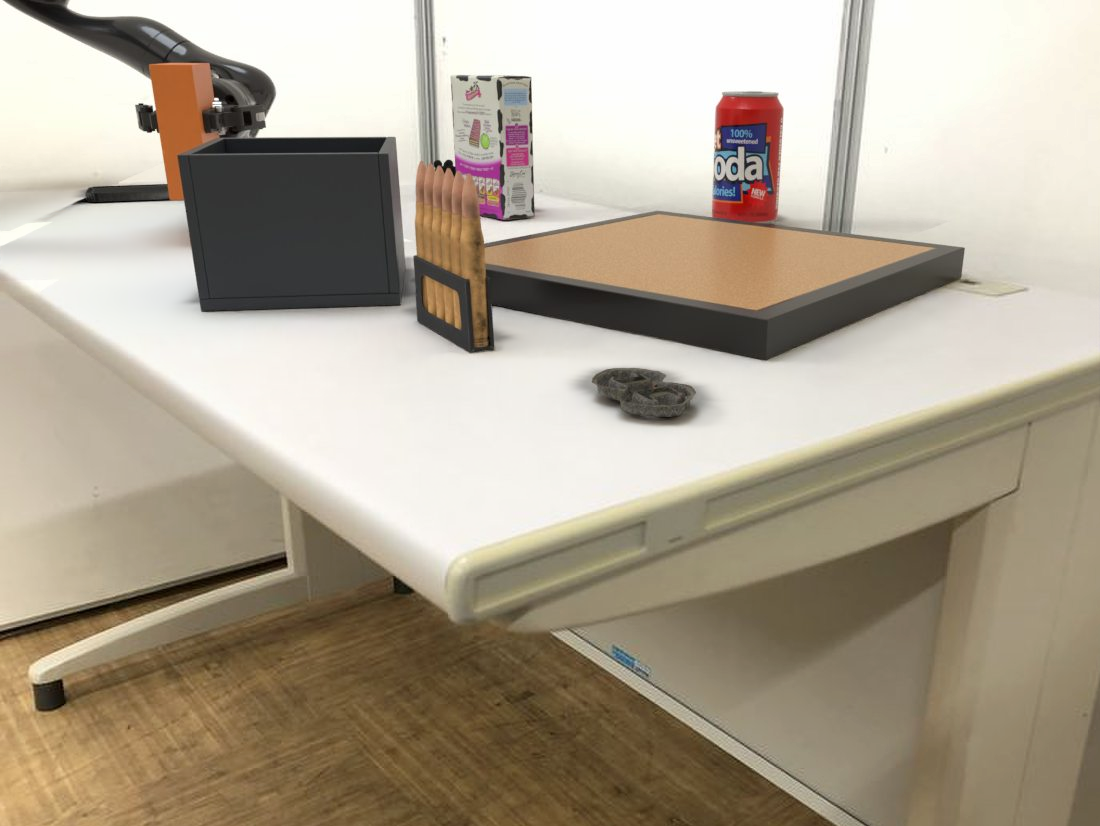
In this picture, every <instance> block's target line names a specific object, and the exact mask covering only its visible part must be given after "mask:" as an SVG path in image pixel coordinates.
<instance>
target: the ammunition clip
mask: <svg viewBox="0 0 1100 826" xmlns="http://www.w3.org/2000/svg"><path fill="white" fill-rule="evenodd" d="M435 169H436V168H435V167H434V164H432V163H431V162H429V163H428V165H427V167H426V163H425V162H424V161H423V160H420V161H419V163H418V165H417V169H416V170H417V171H416V175H415V176H416V177H415V216H414V231H415V248H416V249H415V250H416V255H413V257H412V258H413V273H414V289H415V306H416V321H417V322H418V323H419V324H421V325H422V326H425V327H426V328H428V329H429V330H431V331H432V332H434V333H436V334H438V335H440V336H441V337H442V338H444V339H446V340H447V341H449V342H451V343H452V344H454V345H455V346H458V347H459V348H461V349H462V350H464V351H466V352H467V353H469V354H473V353H480V352H488V351H494V350H495V334H494V319H493V318H494V317H493V305H492V300H491V284H490V277H488V276H486V268H485V248H484V243H485V239H484V234H483V230H482V220H481V215H480V212H479V201H478V195H477V190H476V187H475V183H474V180H473V178H472V176H471V174H470V173H468V174H467V175H466V178H465V181H464V178H463V176H462V174H461V172H460V171H457V172H456V174H455V177H454V176H453V173H452V171H451V169H450V168H447V170H446V172H445V174H444V172H443V169H442V167H441V166H438V167H437V169H436V172H435Z"/></svg>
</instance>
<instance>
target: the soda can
mask: <svg viewBox="0 0 1100 826" xmlns="http://www.w3.org/2000/svg"><path fill="white" fill-rule="evenodd" d="M721 95H722V97H721V98H720V100H719V102H718V103H717V104H716V106H715V110H714V111H715V112H714V136H713V137H714V138H713V139H714V140H713V141H714V142H713V171H712V174H713V175H712V197H711V217H715V218H723V219H731V220H740V221H748V222H756V223H765V224H772V223H774V222H775V221H777V219H778V216H779V215H778V214H779V201H780V199H779V198H780V185H781V184H780V183H781V167H782V166H781V163H782V146H783V131H784V114H785V113H784V112H785V110H784V106H783V104H782V103H781V101H780V99H779V92H775V91H774V92H773V91H763V90H762V91H761V90H757V91H756V90H746V91H743V90H742V91H739V90H738V91H737V90H735V91H722V92H721Z"/></svg>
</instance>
